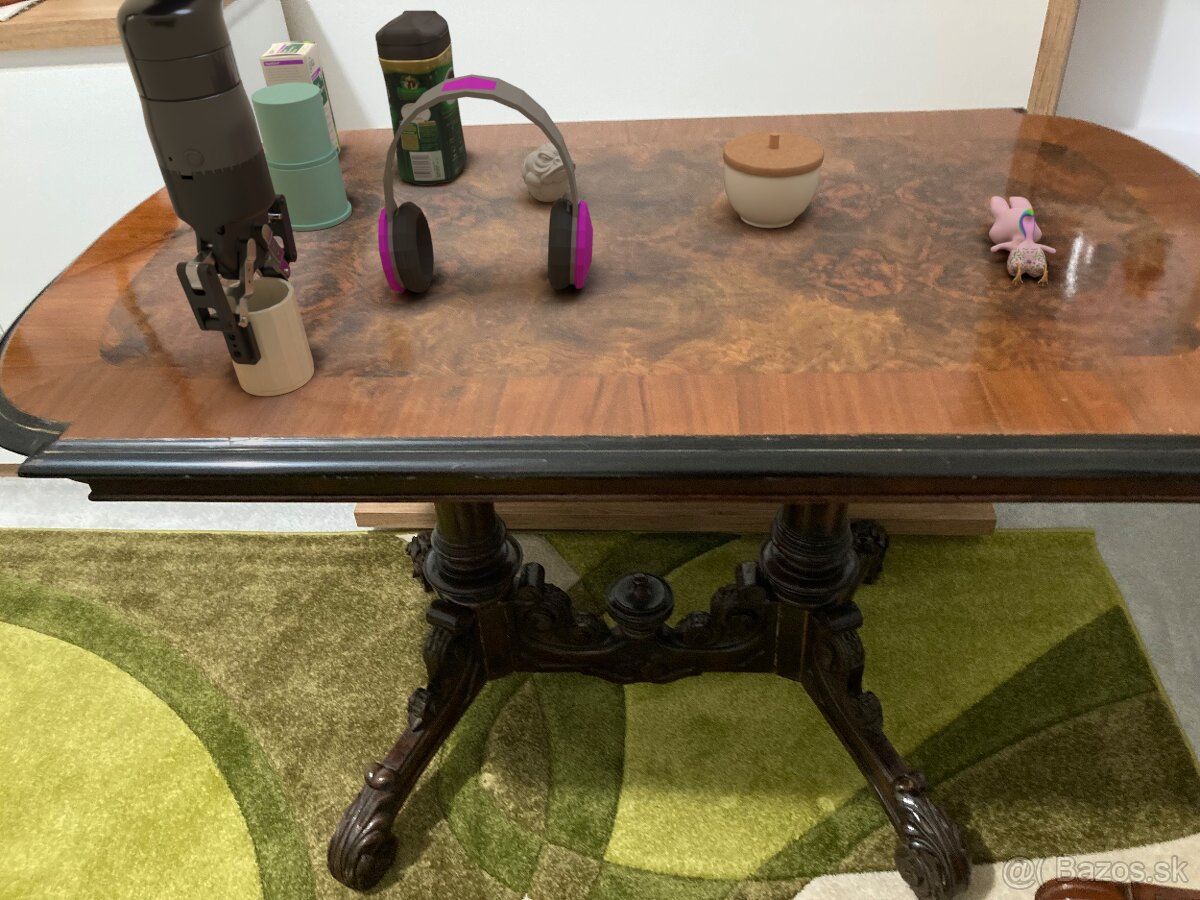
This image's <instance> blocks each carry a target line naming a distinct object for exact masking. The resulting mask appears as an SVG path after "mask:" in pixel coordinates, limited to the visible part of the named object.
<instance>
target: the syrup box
mask: <svg viewBox="0 0 1200 900" xmlns="http://www.w3.org/2000/svg"><path fill="white" fill-rule="evenodd" d="M319 51H320V50H319V47H318V43H317V42H316V41H310V40H308V41H307V40H291V41H284V42H283V41H282V42H275V43H274V42H273V43H271V46H270V47H269V48H268V49H267V50H266V51H265V52H263V54H262V55H260V56H259V59H258V60H259V62H260V67H261V69H262V74H263V77H264V81H265V84H266V87H268V86H272V85H277V84H283V83H309V84H314V85H316V86H318V87H319V88H320V92H321V97H322V101H323V106H324V111H325V115H326V120H327V125H328V129H329V134H330V139H331V143H332V144H334V146H335V149H336V151H337V154H338V155H339V154H340V152H341V151H342V147H341V143H340V139H339V135H338V130H337V125H336V121H335V117H334V112H333V107H332V103H331V100H330V99H331V98H330V95H329V90H328V86H327V82H326V77H325V73H324V68H323V64H322V60H321V55H320V52H319Z"/></svg>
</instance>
